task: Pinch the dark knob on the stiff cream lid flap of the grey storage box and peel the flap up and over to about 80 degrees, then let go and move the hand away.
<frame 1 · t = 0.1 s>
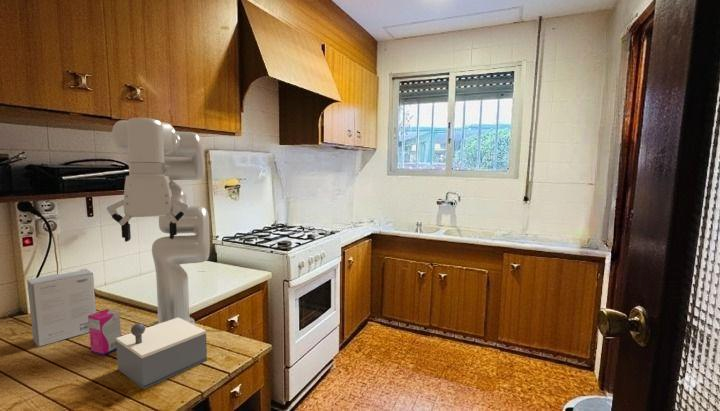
hand: (150, 239, 90), 37 cm above the countertop, tool pointing down, fingers open, 9 cm apart
flap: (161, 326, 100), point 11 cm above the countertop, hinge at 0.0°
grey storage box: (163, 364, 101), on the countertop
hard drive box: (65, 335, 118), on the countertop
supplement box: (106, 350, 109), on the countertop
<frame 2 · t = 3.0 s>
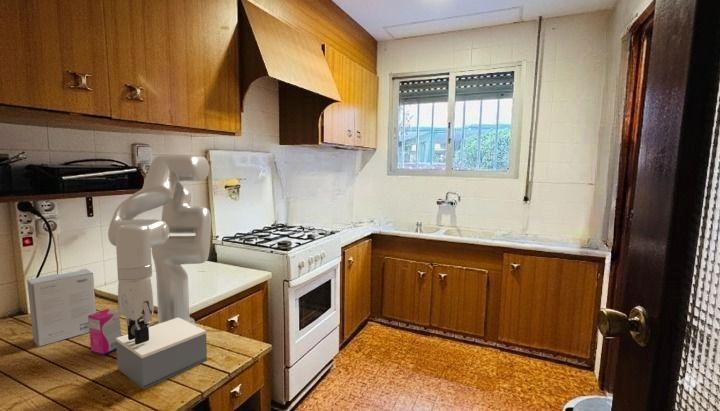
hand: (138, 339, 95), 10 cm above the countertop, tool pointing down, fingers closed on flap, 3 cm apart
flap: (161, 326, 100), point 11 cm above the countertop, hinge at 0.0°, touching gripper
everything else where it was.
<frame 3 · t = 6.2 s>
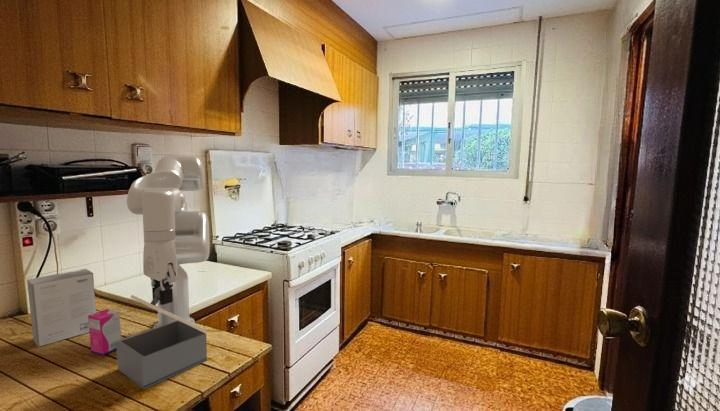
hand: (162, 301, 99), 18 cm above the countertop, tool pointing down, fingers closed on flap, 3 cm apart
flap: (175, 305, 102), point 16 cm above the countertop, hinge at 40.0°, touching gripper
everything else where it was.
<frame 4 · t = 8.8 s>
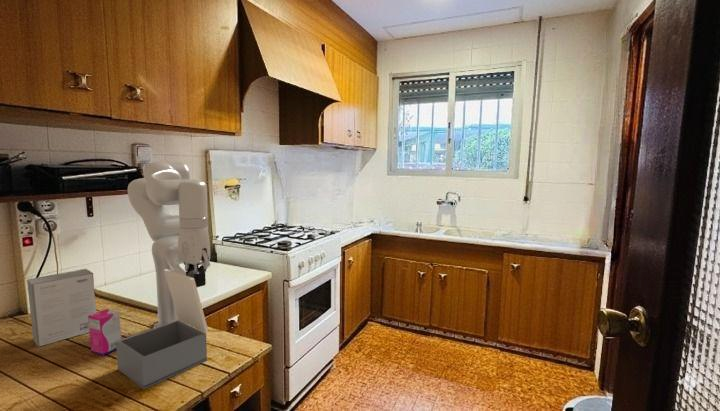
hand: (196, 284, 107), 20 cm above the countertop, tool pointing down, fingers open, 3 cm apart
flap: (194, 296, 107), point 17 cm above the countertop, hinge at 77.3°
everything else where it was.
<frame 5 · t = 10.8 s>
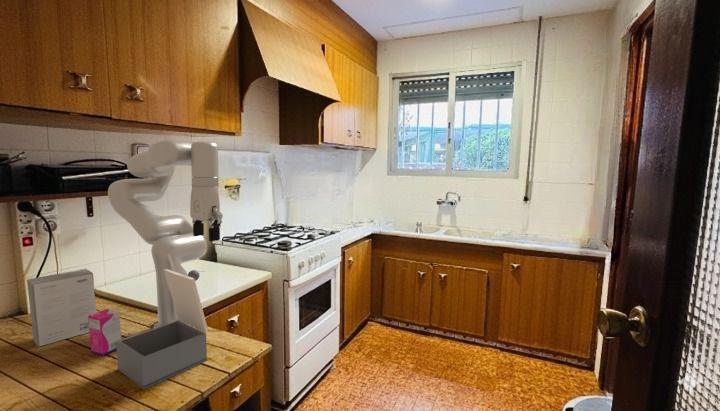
hand: (206, 238, 112), 33 cm above the countertop, tool pointing down, fingers open, 9 cm apart
nothing on the countertop moved.
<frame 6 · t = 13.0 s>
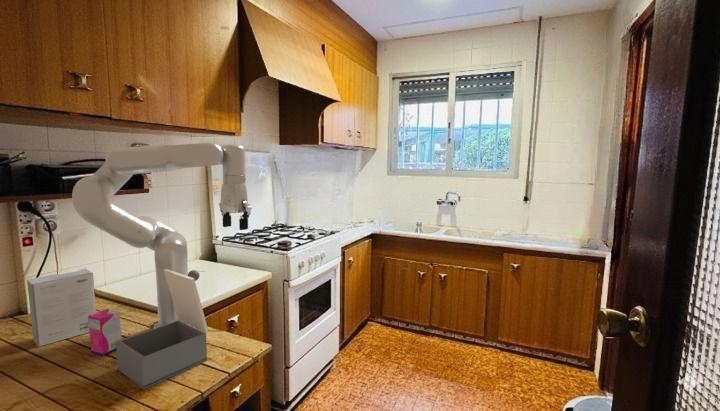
hand: (235, 228, 130), 33 cm above the countertop, tool pointing down, fingers open, 9 cm apart
nothing on the countertop moved.
at the end: flap at +77° (first picture: +0°); the gripper is holding nothing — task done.
